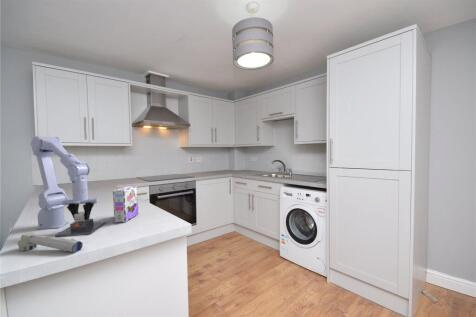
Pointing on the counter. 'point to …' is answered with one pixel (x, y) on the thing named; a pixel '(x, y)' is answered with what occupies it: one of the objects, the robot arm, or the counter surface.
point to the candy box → (125, 204)
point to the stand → (81, 228)
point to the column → (80, 217)
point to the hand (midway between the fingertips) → (81, 219)
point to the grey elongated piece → (48, 242)
